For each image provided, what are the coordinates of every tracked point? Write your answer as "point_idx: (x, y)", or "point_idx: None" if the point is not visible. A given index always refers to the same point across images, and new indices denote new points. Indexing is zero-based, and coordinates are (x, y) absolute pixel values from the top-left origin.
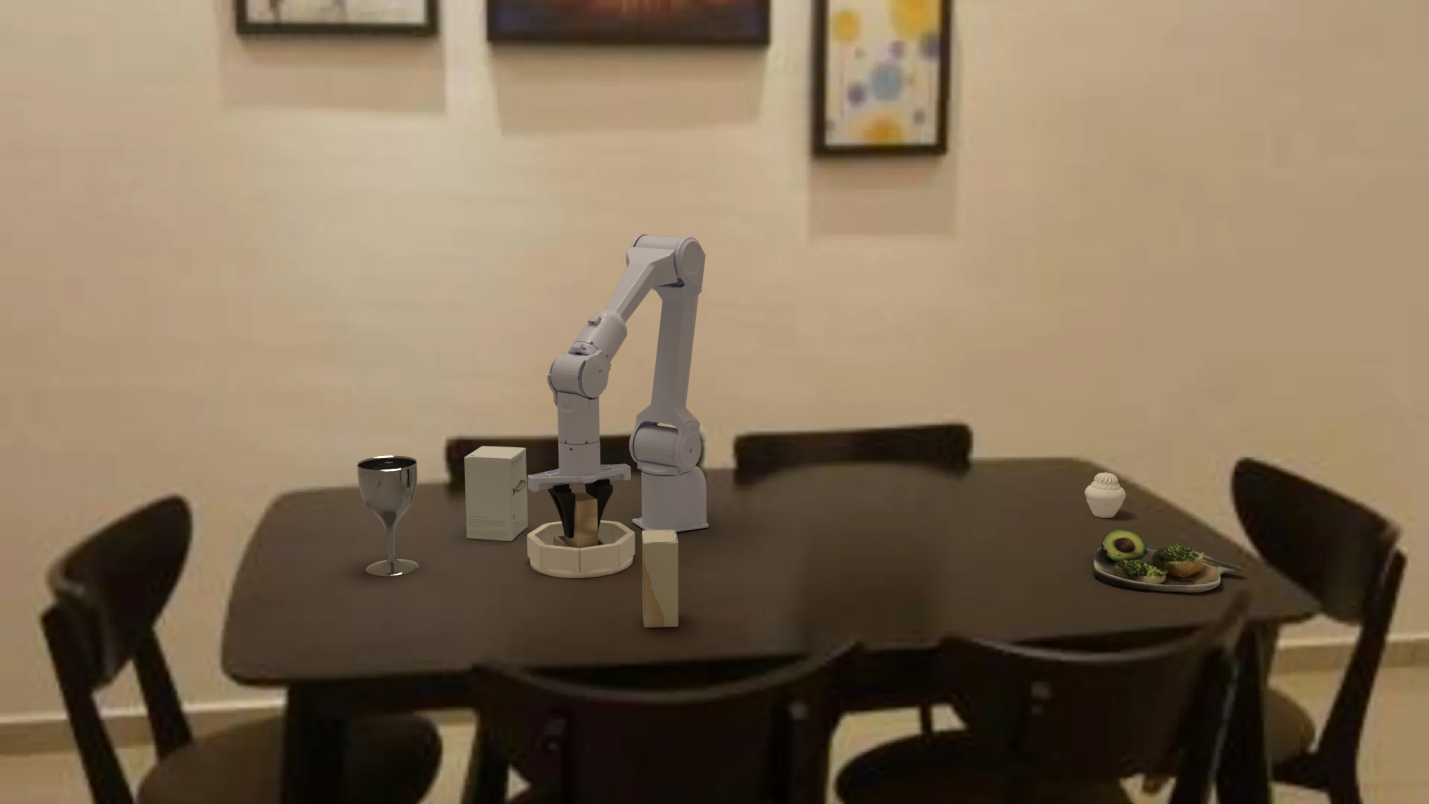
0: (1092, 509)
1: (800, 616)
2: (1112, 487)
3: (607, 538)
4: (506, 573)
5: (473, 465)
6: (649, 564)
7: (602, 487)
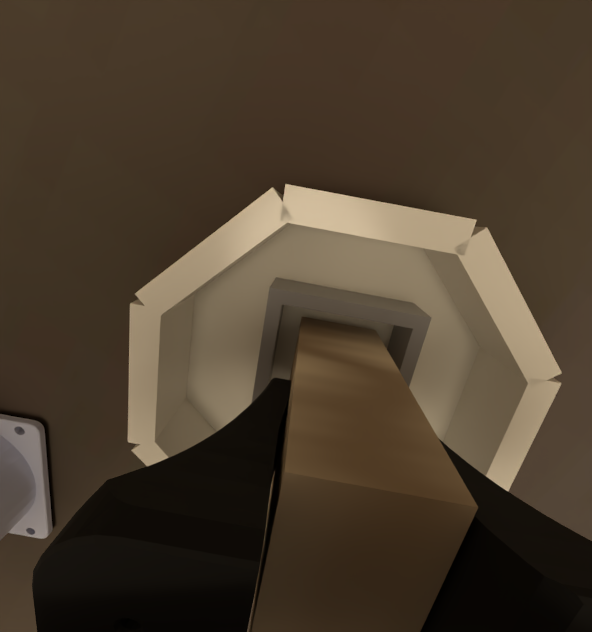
0: None
1: None
2: None
3: (195, 423)
4: (557, 401)
5: None
6: None
7: (186, 583)
